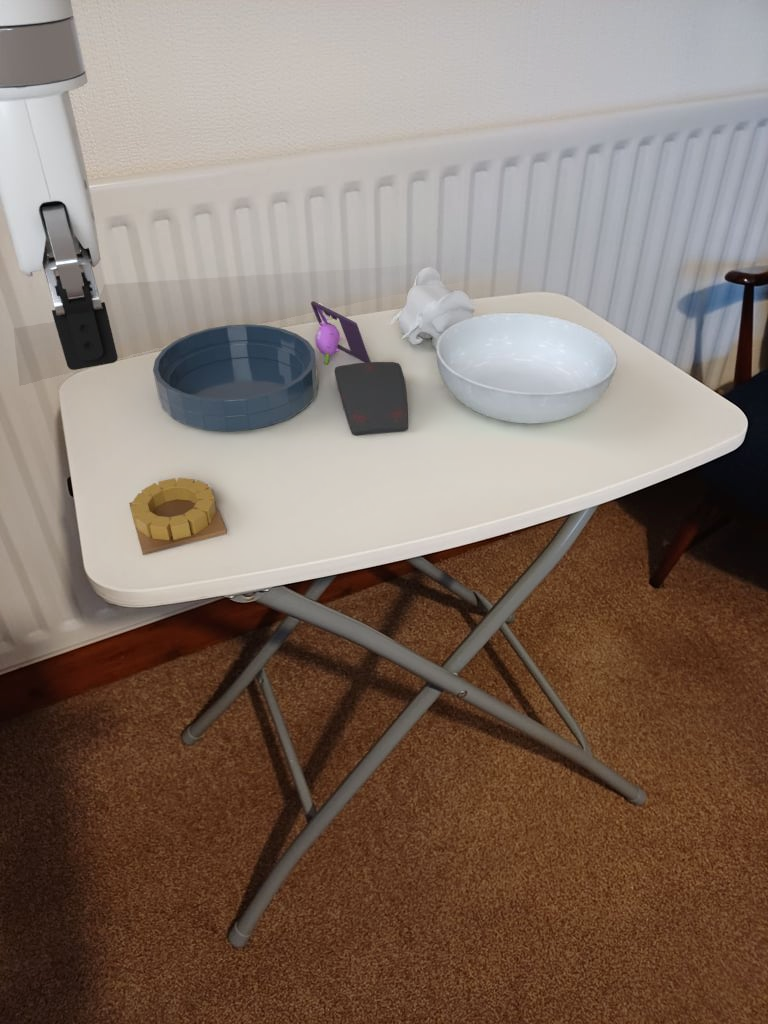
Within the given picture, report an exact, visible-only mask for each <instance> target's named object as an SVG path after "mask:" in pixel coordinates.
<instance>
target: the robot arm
mask: <svg viewBox="0 0 768 1024" xmlns="http://www.w3.org/2000/svg"><path fill="white" fill-rule="evenodd" d="M88 82H89V81H88V76H87V71H86V66H85V63H84V57H83V53H82V47H81V43H80V38H79V33H78V29H77V24H76V19H75V17H74V11H73V6H72V1H71V0H0V205H1V209H2V212H3V215H4V219H5V222H6V226H7V229H8V232H9V236H10V240H11V243H12V247H13V250H14V254H15V257H16V258H15V259H16V261H17V265H18V268H19V272H20V273H22V274H23V275H25V276H26V277H33V273H34V272H42V269H43V270H44V274H45V277H46V280H47V283H48V288H49V292H50V295H51V299H52V302H53V306H54V307H53V308H54V309H52V310H51V313H52V318H53V321H54V324H55V328H56V331H57V334H58V338H59V342H60V345H61V349H62V353H63V356H64V360H65V364H66V366H67V368H68V369H69V370H72V371H76V370H82V369H87V368H92V367H93V368H94V367H98V366H99V367H100V366H104V365H108V364H114V363H116V362H117V361H118V359H119V358H118V357H119V356H118V353H117V349H116V348H117V347H116V344H115V339H114V336H113V331H112V327H111V324H110V319H109V315H108V310H107V306H106V302H105V301H101V296H100V293H99V289H98V284H97V281H96V278H95V274H94V269H93V268H96V266H97V265H98V264H99V263H100V261H101V253H100V245H99V239H98V231H97V226H96V219H95V213H94V207H93V200H92V195H91V190H90V184H89V179H88V174H87V169H86V165H85V164H86V163H85V160H84V155H83V151H82V150H83V149H82V145H81V141H80V135H79V131H78V127H77V122H76V117H75V114H74V109H73V105H72V100H71V96H70V93H69V92H70V91H73V90H76V89H79V88H81V87H83V86H85V85H86V84H87V83H88Z"/></svg>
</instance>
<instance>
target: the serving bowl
mask: <svg viewBox="0 0 768 1024" xmlns="http://www.w3.org/2000/svg"><path fill="white" fill-rule="evenodd" d="M435 355H436V364H437V368H438V372H439V374H440V377H441V379H442V382H443V384H444V385H445V386H446V388H447V389H448V390H449V392H450V393H451V394H452V396H453V397H455V399H457V400H458V401H459V402H460V403H461V404H463V405H464V406H466V407H468V408H469V409H471V410H473V411H475V412H477V413H479V414H482V415H483V416H486V417H489V418H492V419H496V420H499V421H504V422H510V423H518V424H544V423H551V422H556V421H562V420H564V419H568V418H571V417H573V416H576V415H577V414H579V413H582V412H584V411H585V410H587V409H588V408H590V407H591V406H592V405H594V404H595V403H596V402H597V401H598V400H599V399H600V398H601V397H602V396H603V394H604V393H605V392H606V391H607V389H608V388H609V386H610V384H611V382H612V380H613V378H614V376H615V373H616V370H617V368H618V363H619V362H618V355H617V352H616V350H615V348H614V347H613V346H612V344H611V343H610V341H608V340H607V339H606V338H604V337H603V336H602V335H601V334H599V333H597V332H596V331H594V330H593V329H591V328H589V327H587V326H585V325H581V324H579V323H577V322H574V321H571V320H568V319H565V318H561V317H557V316H552V315H547V314H542V313H541V314H540V313H533V312H532V313H531V312H515V311H514V312H511V311H510V312H493V313H487V314H486V313H485V314H481V315H476V316H472V318H469V319H466V320H463V321H460V322H458V323H456V324H454V325H452V326H451V327H449V328H448V329H447V330H445V331H444V332H443V333H442V335H441V336H440V337H439V339H438V341H437V345H436V348H435Z"/></svg>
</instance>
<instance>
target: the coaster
mask: <svg viewBox="0 0 768 1024" xmlns="http://www.w3.org/2000/svg"><path fill="white" fill-rule="evenodd" d="M132 502H133V501H130V502H128V504H129V509H130V512H131V517H132V519H133V523H134V528H135V530H136V534H137V539H138V542H139V545H140V550H141V554H142V556H145V555H148V554H153V553H156V552H160V551H165V550H168V549H172V548H176V547H180V546H184V545H188V544H192V543H197V542H200V541H204V540H208V539H211V538H216V537H219V536H223V535H226V534H227V529H226V527H225V524H224V521H223V519H222V516H221V514H220V511H219V509H218V506H217V504H216V503H215V505H216V514H215V516H214V518H213V520H212V522H211V523H208V526H207V527H206V528H204V529H203V530H201V531H200V532H198V533H196V534H194V533H192V532H191V536H189V537H185V538H181V539H176V540H173V536H172V537H171V538H170V540H160V539H153V538H152V536H151V537H148V536H146V535H145V534H143V533H141V532H140V531H138V528H136V525H135V521H134V517H133V513H132V508H131V506H132ZM194 506H195V503H193V502H191V501H189V500H179V499H177V500H173V501H168V502H165V503H163V504H161V505H160V506H158V507H156V508H155V510H154V511H153V513H154V514H155V515H157V516H163V517H174V516H178V515H182V514H185V513H186V512H188V511H189V510H191V509H193V508H194Z"/></svg>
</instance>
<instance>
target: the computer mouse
mask: <svg viewBox="0 0 768 1024" xmlns="http://www.w3.org/2000/svg"><path fill="white" fill-rule="evenodd" d="M334 375H335V379H336V384H337V389H338V392H339V396H340V400H341V404H342V407H343V411H344V414H345V417H346V421H347V424H348V428H349V430H350V433H351V434H352V435H353V436H363V435H375V434H385V433H386V434H387V433H397V432H398V433H399V432H405V431H408V429H409V411H408V410H409V409H408V395H407V394H408V393H407V385H406V379H405V375H404V372H403V368H402V366H401V364H400V363H399V362H395V361H370V362H357V363H348V364H344V365H338V366H336V367H334Z"/></svg>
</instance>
